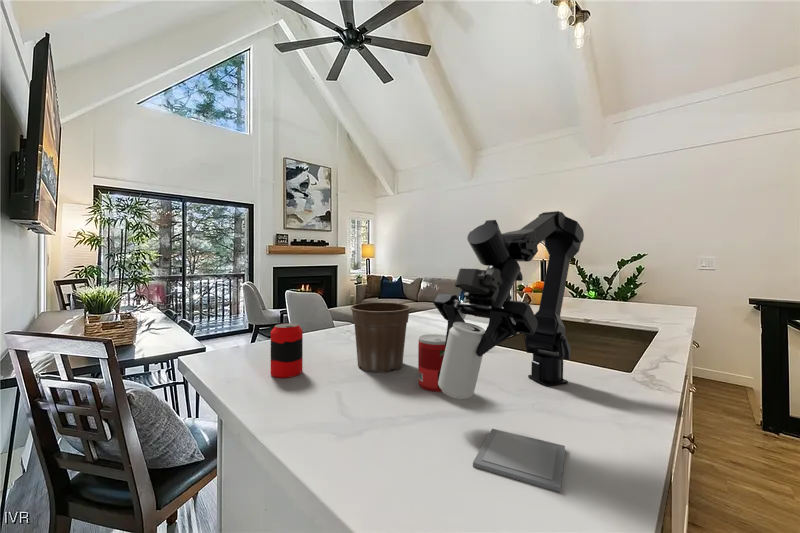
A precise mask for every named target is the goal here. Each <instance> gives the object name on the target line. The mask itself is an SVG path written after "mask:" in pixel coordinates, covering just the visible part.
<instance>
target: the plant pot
mask: <svg viewBox="0 0 800 533" xmlns="http://www.w3.org/2000/svg"><path fill="white" fill-rule="evenodd" d="M350 310H351V311H352V323H354V324H353V325H354V336H355V345H356V358H357V366H358V368H361V369H362V370H363V371H367V372H371V373H388V372H390V371H392V370H394V371H397V370H399V369H401V368H402V367H403V364H404V353H405V352H404V351H405V343H406V342H405V341H406V332H407V324H408V322H409V317H410V310H412V306H410V305H409V304H404V303H397V302H362V303H356V304H353V305H350Z"/></svg>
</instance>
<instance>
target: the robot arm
mask: <svg viewBox="0 0 800 533" xmlns="http://www.w3.org/2000/svg"><path fill="white" fill-rule="evenodd" d="M584 234H585V232H584V230H583V227H582V226H581V224H579V222H578V221H577V220H575V219H572V218H570V217H568V216H566V215H565V214H564V212H563V211H559V210H557V211H547V212H545V211H544V212H542V213H539V214H538V216H537V217H536V218H535V219H532V221H530V222H529V223H528V224H526V225H524V226H523V227H522V228H520V229H518V230H517V229H516V230H513V231H507V232H504V233H502V232H501V230H500V227H499V224H498V221H497V220H496V219H489V220H486V221H485V222H484V223H483V224H481V225H479V226H477V227H475V228H474V229H473V230H471V231H470V230H469V233H468V234H467V237H466V238H467V242H468V244H469V245H470V247H471V249H472V251H473V252H474V254H475V256H476V258H477V260H478V262H479V263H480V264H481V265H483V266H487V268H486V269H480V268H463V267H462V268H461V267H460V268H459V270H458V273H457V276H456V280H455V283H454V286H455V288H460V290H462V291H464V294H463V296H464V298H465V300H468V302H461V300H460V299H459V297H458V296H457V295H456V294H450V293H449V294H448V293H438V294H437V295H436V297H435V300H434V301H433V302H432V304H433V305H434V306H435V308H436V309H437V311H438V312H439V313H440V315H441V316H442V317H443V319H444V320H445V321H447V328H446V341H445V347H446V344H447V339H448V335H449V330H450V329H451V328H452V327H453V323H454V322H466V321H465V318H466V315H468V316H473V317H475V318H476V317H477V318H483V319H489V321H488V322H489V323H488V325H487V327H486V329H485V333H484V335H483V337H482V339H481V341H480V343H479V345H478V348H477V351H476V354H477V356H479V357H481V356H482V355H483V356H484V355H485V354H486V353H488V352H489V351H490V350H492V349H494V347H496V346H498V345H499V344H500V343H502V342H504V341H505V340H507V339H509V338H511V337H517V336H518V334H523V335H524V336H523V337H524V343H525V349H526V353H527V354H532V360H531V371H530V372H531V374H528V375H527V377H528V378H529V379H531V380H534V381H535V382H537V383H540V384H541V385H544V386H545V387H546V386H547V387H548V386H549V387H550V386H557V385H564V384H569V380H567V379H564V360H570V359H571V354H572V352H571V350H572V347H571V343H569V340H568V338H567V335H566V327H565V325H564V322H563V321H562V320H563V319H562V318H561V313H562V308H563V302H564V295H565V290H566V284H567V278H568V273H569V268H570V262H571V260H572V259H573V258H574V257H575V256H576V255H577V254H578V253H579V252H580V248H581V244H582V243H583V241H584V238H585V237H584V236H585V235H584ZM543 241H544V246H545V248H546V251H547V253H548V261H547V268H546V272H545V277H544V283H543V286H542V292H541V296H540V302H539V307H538V310H537V311H536V313H534V311H533V308H532V307H531V305H530V304H529V302H528V301H522V300H521V301H520V300H512V298H513V297H512V295H511V293H510V292H511V291H512V289H513V286H514V285H515V282H522V281H523V279H524V278H523V274H522V272H521V266H520V264H519V262H528V263H529V262H531V261H532V260H533V259H534V257H535V256H536V254H537V253H538V252H539V249H538V245H539V244H541V243H542V242H543Z"/></svg>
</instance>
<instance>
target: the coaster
mask: <svg viewBox="0 0 800 533" xmlns="http://www.w3.org/2000/svg"><path fill="white" fill-rule="evenodd" d="M565 451H566V445H562V444H559V443H554V442H551V441H547V440H541V439H539V438H534V437H529V436H525V435H521V434H517V433H513V432H509V431H505V430H500V429H497V428H491V430H490V431H489V433H488V435H487V436H486V438H485V440H484V442H483V444H482V445H481V447H480V448H479V451H478V452H477V454H476V456H475V458H474V459H473V462H472V467H474V468H476V469H480V470H483V471H486V472H490V473H494V474H497V475H500V476H504V477H507V478H509V479H513V480H517V481H521V482H524V483H527V484H530V485H533V486H536V487H540V488H544V489H546V490H550V491H553V492H556V493H561V486H562V478H563V477H562V476H563V469H564V463H565V461H564V460H565V453H566V452H565Z"/></svg>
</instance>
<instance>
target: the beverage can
mask: <svg viewBox="0 0 800 533" xmlns="http://www.w3.org/2000/svg"><path fill="white" fill-rule="evenodd" d="M485 331H486V329H485V328H483V327H481V326H479V325H476V324H474V323H470V322H466V321H465V322H454V323H453V327H452V328H451V329H450V330H449V335H448V339H447V344H446V348H445V353H444V358H443V362H442V367H441V371H440V376H439V381H438V385H439V387H440V388H441V390H442V393H444V394H445V395H447V396H448V397H451V398H454V399H459V400H465V399H469V398H470V397H472V396H474V394H475V389H476V387H477V382H478V378H479V373H480V369H481V365H482V361H483V356H484V354H483V355H482V356H481V357H479V356H477V354H476V351H477V348H478V345H479V343H480V341H481V339H482V337H483V335H484V333H485Z"/></svg>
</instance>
